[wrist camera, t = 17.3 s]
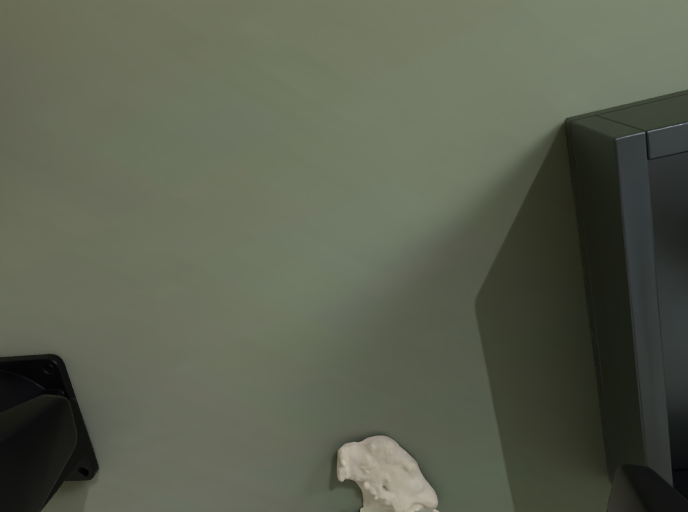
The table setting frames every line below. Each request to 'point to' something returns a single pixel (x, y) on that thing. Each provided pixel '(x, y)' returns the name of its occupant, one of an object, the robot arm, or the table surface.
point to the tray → (637, 276)
